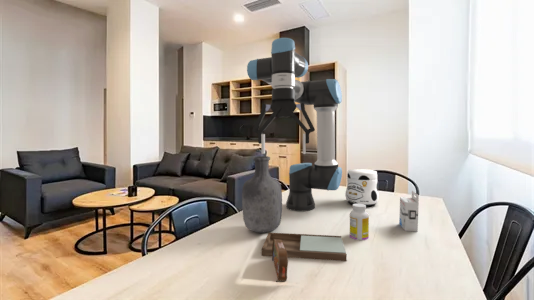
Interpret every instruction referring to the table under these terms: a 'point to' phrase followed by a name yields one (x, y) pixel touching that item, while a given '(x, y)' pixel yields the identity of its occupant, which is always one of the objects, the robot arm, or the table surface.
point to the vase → (262, 199)
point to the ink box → (409, 212)
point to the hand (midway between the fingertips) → (283, 153)
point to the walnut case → (298, 247)
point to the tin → (280, 259)
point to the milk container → (362, 187)
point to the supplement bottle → (359, 222)
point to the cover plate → (322, 244)
